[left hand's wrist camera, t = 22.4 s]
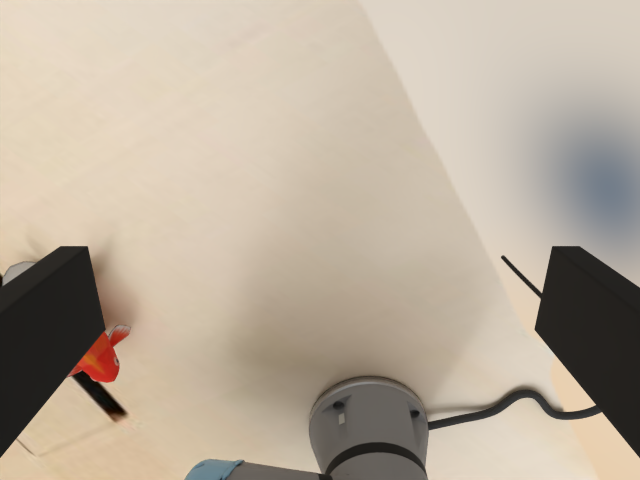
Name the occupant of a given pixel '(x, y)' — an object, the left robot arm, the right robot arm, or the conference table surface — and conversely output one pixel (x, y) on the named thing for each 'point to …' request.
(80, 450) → the conference table surface
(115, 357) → the fish
